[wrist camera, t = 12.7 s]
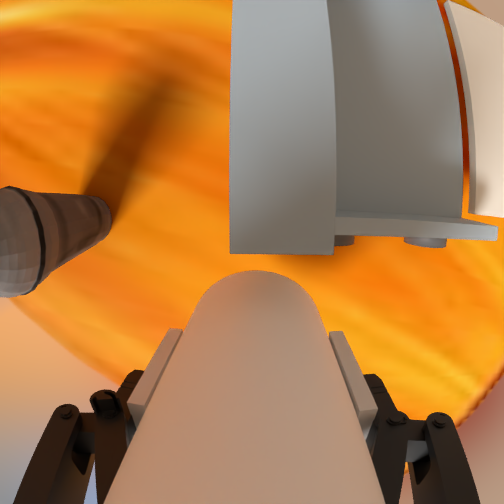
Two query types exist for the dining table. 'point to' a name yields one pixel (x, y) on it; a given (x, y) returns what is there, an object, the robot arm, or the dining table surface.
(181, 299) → the dining table surface
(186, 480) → the cup
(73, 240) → the beverage cup
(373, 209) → the truck bed
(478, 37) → the tailgate
